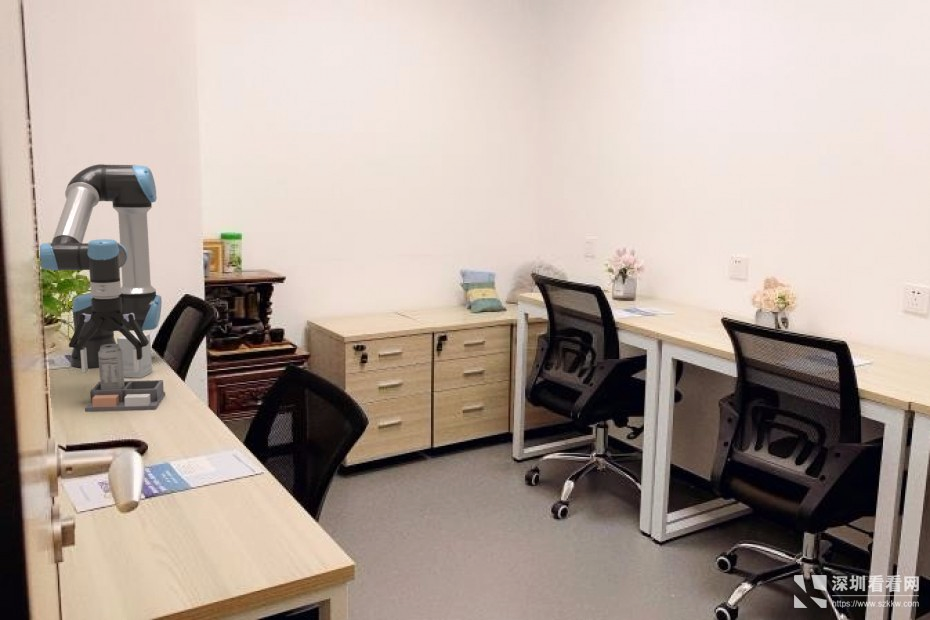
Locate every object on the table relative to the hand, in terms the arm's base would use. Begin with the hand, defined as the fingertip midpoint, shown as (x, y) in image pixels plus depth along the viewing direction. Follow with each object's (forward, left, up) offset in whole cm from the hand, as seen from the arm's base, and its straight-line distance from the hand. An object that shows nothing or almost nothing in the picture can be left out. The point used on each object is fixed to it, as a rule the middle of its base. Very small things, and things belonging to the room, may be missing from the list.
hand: (111, 371), depth 214 cm
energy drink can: (0, 0, -8) cm, 8 cm away
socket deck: (+2, +4, -9) cm, 10 cm away
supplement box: (-27, 0, -9) cm, 28 cm away
